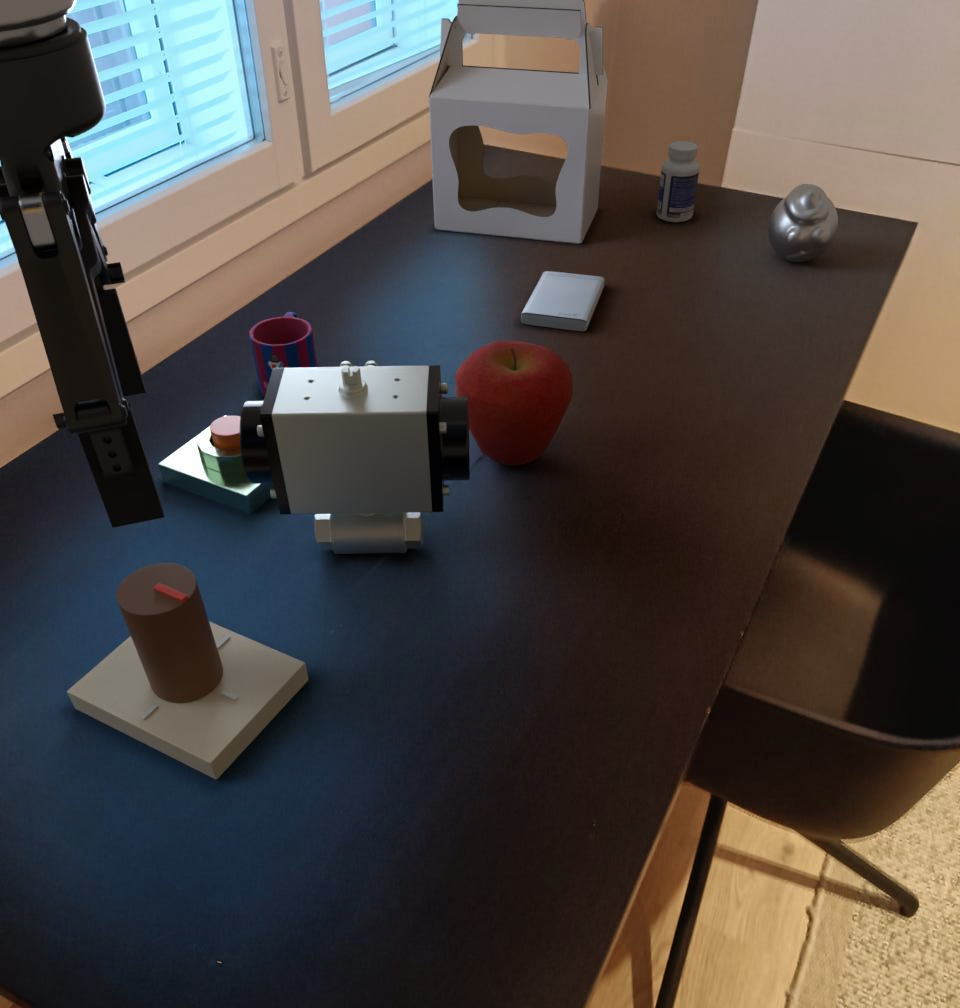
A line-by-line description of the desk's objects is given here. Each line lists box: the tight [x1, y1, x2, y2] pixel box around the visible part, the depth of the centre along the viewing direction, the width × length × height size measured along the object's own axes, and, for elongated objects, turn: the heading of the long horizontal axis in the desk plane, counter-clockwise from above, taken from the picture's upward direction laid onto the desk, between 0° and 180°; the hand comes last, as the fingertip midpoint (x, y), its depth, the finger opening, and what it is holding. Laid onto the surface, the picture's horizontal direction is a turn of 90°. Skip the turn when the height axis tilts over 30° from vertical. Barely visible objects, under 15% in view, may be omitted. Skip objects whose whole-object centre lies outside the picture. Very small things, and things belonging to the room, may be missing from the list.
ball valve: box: [240, 360, 471, 555], centre depth 78 cm, size 18×8×18 cm, turn 91°
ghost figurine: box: [767, 183, 839, 263], centre depth 123 cm, size 9×10×10 cm
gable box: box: [428, 0, 609, 245], centre depth 127 cm, size 22×13×28 cm, turn 75°
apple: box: [454, 340, 574, 467], centre depth 89 cm, size 11×11×12 cm
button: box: [209, 414, 241, 450], centre depth 89 cm, size 4×4×2 cm
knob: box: [115, 562, 223, 703], centre depth 67 cm, size 5×5×9 cm
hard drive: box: [520, 270, 605, 332], centre depth 117 cm, size 2×8×12 cm
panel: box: [66, 621, 310, 781], centre depth 71 cm, size 14×11×2 cm
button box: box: [157, 414, 274, 515], centre depth 91 cm, size 11×10×4 cm
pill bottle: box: [655, 140, 701, 223], centre depth 134 cm, size 5×5×10 cm
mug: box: [248, 311, 319, 398], centre depth 103 cm, size 7×10×7 cm
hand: (130, 451), depth 54 cm, fingers open, 13 cm apart
